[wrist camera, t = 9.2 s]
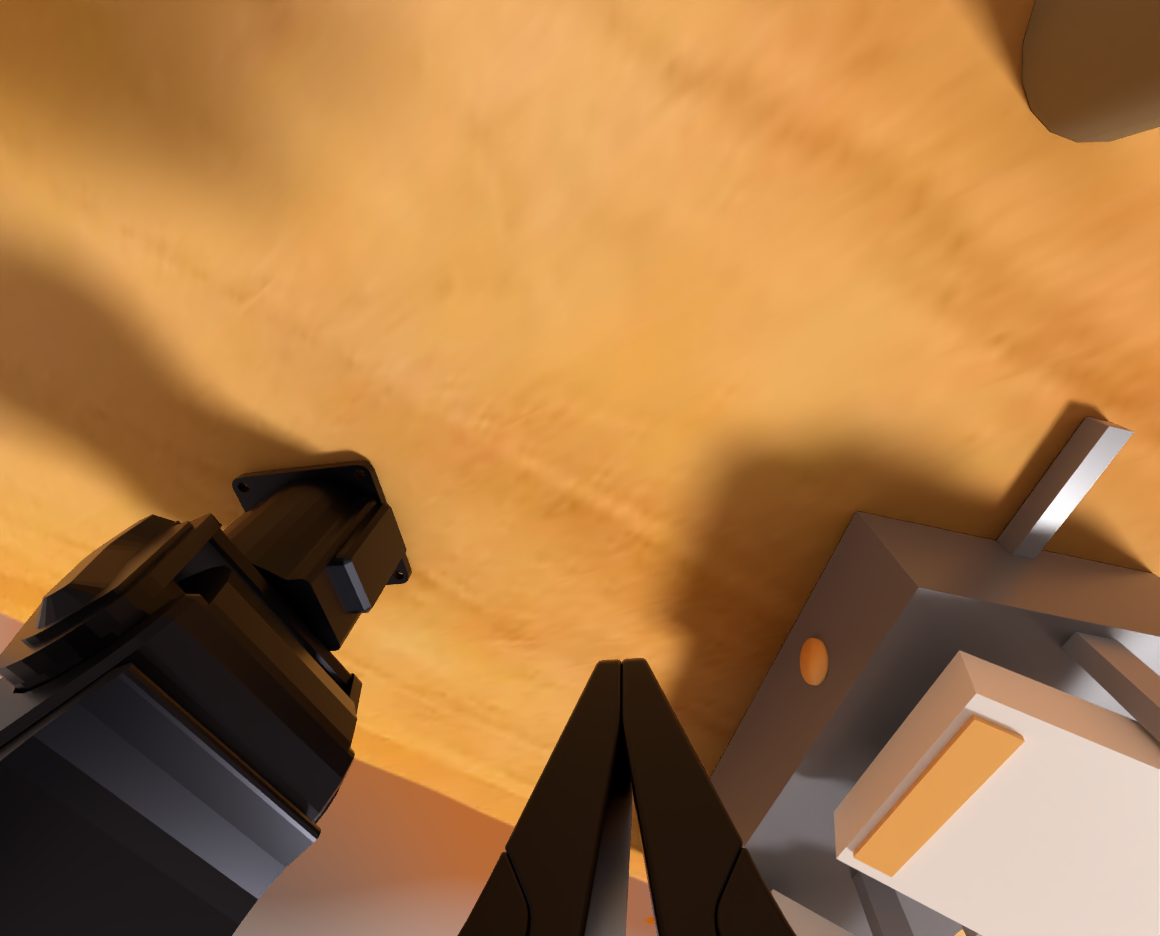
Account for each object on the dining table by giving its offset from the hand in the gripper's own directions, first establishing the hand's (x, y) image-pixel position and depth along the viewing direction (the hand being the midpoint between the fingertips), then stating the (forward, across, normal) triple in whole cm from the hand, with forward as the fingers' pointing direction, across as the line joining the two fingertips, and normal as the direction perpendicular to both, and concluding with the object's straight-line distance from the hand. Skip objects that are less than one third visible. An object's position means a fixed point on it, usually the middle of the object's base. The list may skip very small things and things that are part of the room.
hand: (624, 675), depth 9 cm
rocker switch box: (+13, -12, +19) cm, 26 cm away
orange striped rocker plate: (+5, -15, +14) cm, 21 cm away
